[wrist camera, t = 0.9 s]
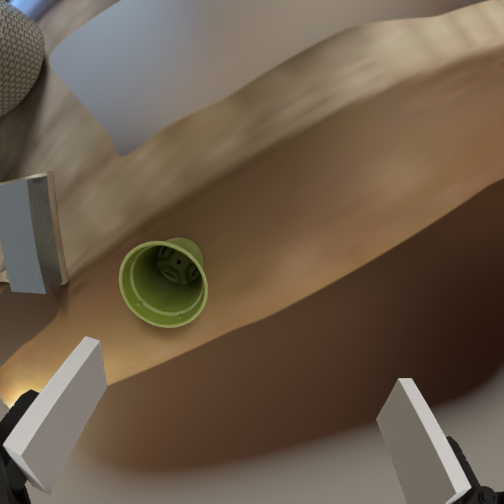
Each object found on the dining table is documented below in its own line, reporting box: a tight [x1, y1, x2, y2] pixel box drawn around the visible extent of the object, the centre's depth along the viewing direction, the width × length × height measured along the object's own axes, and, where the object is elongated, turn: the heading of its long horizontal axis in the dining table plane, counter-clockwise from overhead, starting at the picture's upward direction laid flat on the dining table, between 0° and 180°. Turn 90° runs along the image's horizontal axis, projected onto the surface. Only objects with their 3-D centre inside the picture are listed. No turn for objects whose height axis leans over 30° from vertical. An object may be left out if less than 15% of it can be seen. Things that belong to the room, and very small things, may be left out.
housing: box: [0, 176, 62, 294], centre depth 33 cm, size 8×15×4 cm, turn 1°
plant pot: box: [119, 237, 208, 328], centre depth 33 cm, size 9×9×9 cm
